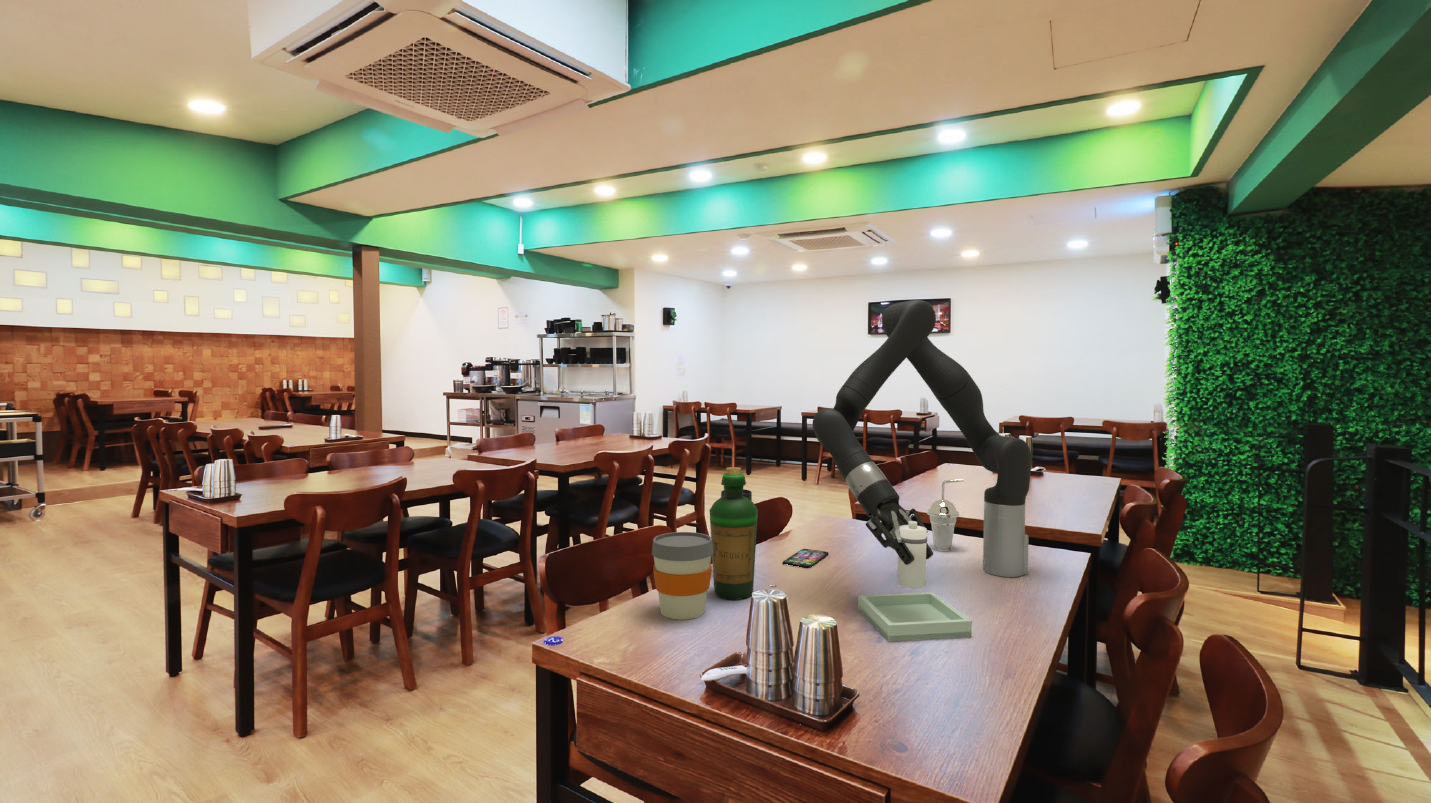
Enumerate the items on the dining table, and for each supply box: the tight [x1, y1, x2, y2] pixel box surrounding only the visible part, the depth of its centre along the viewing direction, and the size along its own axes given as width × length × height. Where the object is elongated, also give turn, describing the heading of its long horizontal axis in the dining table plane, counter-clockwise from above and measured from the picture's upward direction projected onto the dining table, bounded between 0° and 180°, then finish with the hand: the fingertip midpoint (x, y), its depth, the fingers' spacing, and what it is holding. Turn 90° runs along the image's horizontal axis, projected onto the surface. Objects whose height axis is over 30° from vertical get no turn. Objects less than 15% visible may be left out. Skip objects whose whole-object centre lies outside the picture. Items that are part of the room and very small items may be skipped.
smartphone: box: [782, 548, 829, 569], centre depth 171 cm, size 8×1×15 cm
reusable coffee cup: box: [651, 531, 713, 621], centre depth 134 cm, size 12×13×15 cm
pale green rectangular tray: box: [858, 591, 973, 643], centre depth 128 cm, size 16×16×3 cm
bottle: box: [709, 466, 759, 600], centre depth 144 cm, size 11×11×28 cm
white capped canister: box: [897, 521, 928, 589], centre depth 127 cm, size 6×6×12 cm
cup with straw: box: [926, 478, 964, 552], centre depth 180 cm, size 8×9×20 cm
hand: (920, 559), depth 126 cm, fingers closed on white capped canister, 5 cm apart
